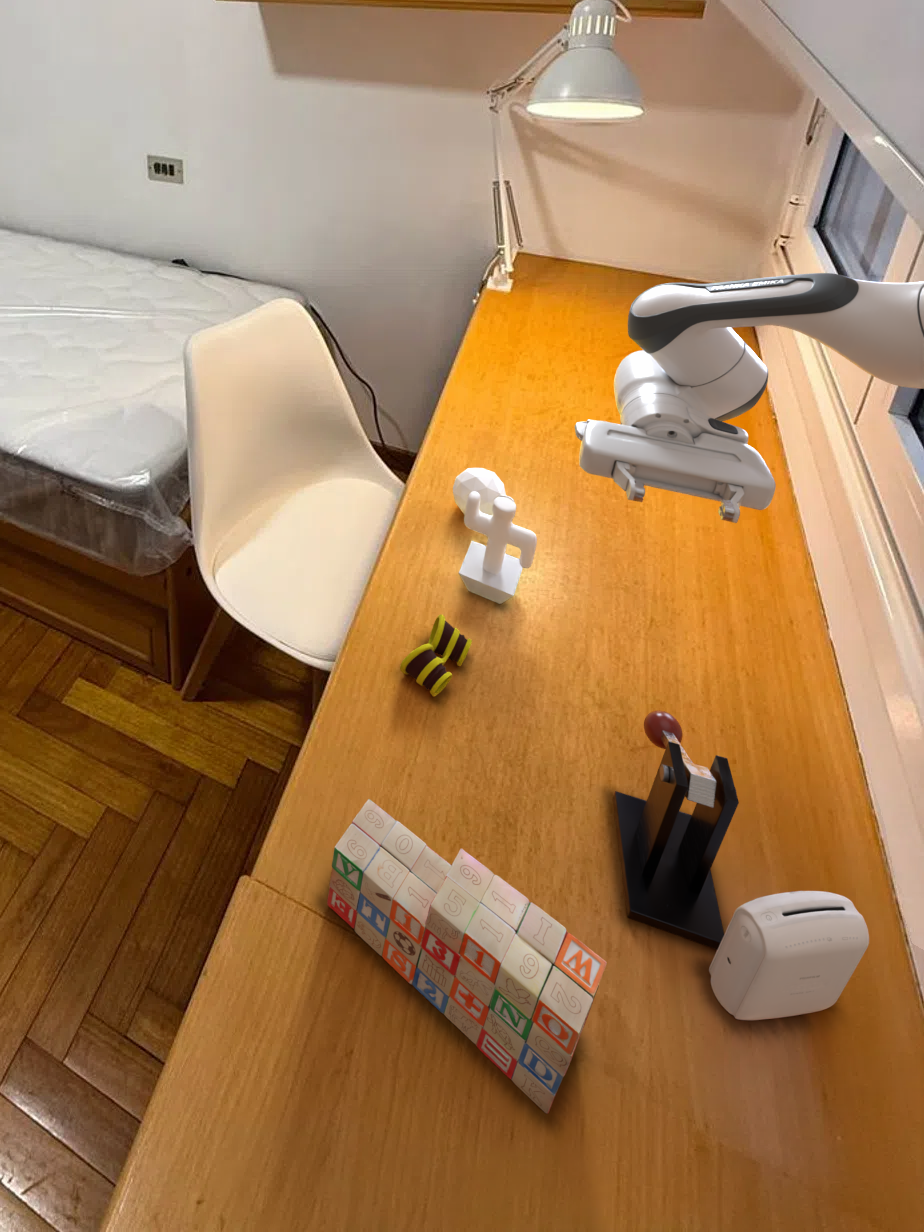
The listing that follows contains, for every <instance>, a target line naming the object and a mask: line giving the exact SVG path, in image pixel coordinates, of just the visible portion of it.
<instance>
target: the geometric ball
mask: <svg viewBox="0 0 924 1232" xmlns="http://www.w3.org/2000/svg"><path fill="white" fill-rule="evenodd" d="M473 491H475V492H478V493H479V494H480V497H481V499H480V505H479V510H480V511H481V512H482V513H485V514H487V515H493V511H492V508H493V503H494V500H495V499H496V498H497V497H499V496H500V495H507V494H506V489H505V484H504V482H503V481H502V480H501V478H500V477H499V476H498V475H497V474H496V472H495V471H492V470H488V469H487V468H483V467H467V468H466V469H464V470H463V471H462V472H460V473H459V474H458V475H457V476H456V477H455V479H454V483H453V486H452V496H453V500H454V503H455V505H456V506H457V507H458V508H459V510H460V511H461V512H462V513H463V516H464V515H465V509H466V504H467V499H468V496H469V494H470V493H471V492H473Z"/></svg>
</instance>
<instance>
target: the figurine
mask: <svg viewBox="0 0 924 1232" xmlns="http://www.w3.org/2000/svg"><path fill="white" fill-rule="evenodd" d="M480 499H481V497H480V494H479V493H478V492H475V491H473V492H471V493H470V494H469V496H468V499H467V504H466V509H465V515H464V514H463V524H464V526H465V527H466V528H467V529H469V530H471V531H474V532H476V533H479V534H481V535H483V536H486V537H487V540H486V545H485V544H482V543H481V542H477V541H475V540H471V541H470V544H469V546H468V549H467V551H466V554H465V556H464V558H463V560H462V563H461V566H460V568H459V571H458V575H459V577H460V579H461V580H462V582H463V584H464V586H465V588H466V590H467V591H468V592H470V593H473V594H475V595H477V596H479V597H482V598H485V599H487V600H490V601H491V602H494V603H496V604H499V605H501V604H503V603H505V602H506V601H508V600H509V599H511V598H512V597H514V596H515V593H516V590H517V587H518V585H519V581H520V579H521V574H522V571H523V569H530V568H531V567H532V565H533V562H534V559H535V554H536V550H537V546H538V537H537V535H536V533H535V532H534V531H532V530H531V529H527V528H525V527H523V526H520V525H516V524H514V523H513V519H514V518H515V517H516V511H517V504H516V502H515V499H514V498H513V497H511V496H509V495H507V494H506V495H500V496H499V497H497V498H496V499H495V500H494V503H493V508H492V511H493V515H487V514H485V513H482V512H481V511H480V510H479V505H480ZM508 545H511V546H512V547H516V548H518V549H519V550H520V554H519V555H520V556H519V558H518V557H516V556H513V555H512V554H511V555H510V554H508V553H506V551H507V546H508Z"/></svg>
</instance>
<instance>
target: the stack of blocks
mask: <svg viewBox="0 0 924 1232" xmlns="http://www.w3.org/2000/svg"><path fill="white" fill-rule="evenodd" d="M326 905H327V906H328V908H330V909H331V910H333V912H334V913H335V914H337V915H338V916H339V917H340V918H341V919H342V920H343V921H344V922H345V923H346V924H348V925H349V927H350V928H351V929H353V930H354V933H356V934H357V936H359V937H360V938H361V940H363V941H364V942H365V943H366V944H367V945H368V946H369V947H370V948H372V950H373V951H374V952H375V953H377V954H378V955H379V956H380V957H382V959H383V960H384V961H385V962H386V963H387V964H388V965H389V966H390V967H392V968H393V970H394V971H396V972H397V973H398V975H400V977H402V978H403V979H404V980H405V981H406V982H407V983H408V984H409V985H412V986H413V987H414V988H415V989H416V991H418V992H419V993H420V994H421V995H422V997H424V998H425V999H426V1000H428V1002H430V1003H431V1005H432V1006H433V1007H434V1008H436V1010H438V1011H439V1012H440V1013H441V1014H443V1015H444V1016H445V1017H446V1019H448V1020H449V1021H450V1022H451V1023H452V1024H453V1025H454V1027H456V1028H457V1029H458V1030H460V1031H461V1033H463V1034H464V1035H465V1037H466V1038H468V1040H470V1041H471V1042H472V1043H473V1044H474V1045H475V1046H476V1047H477V1049H478V1050H479V1051H480V1052H481V1053H482V1054H483V1055H484V1056H485V1057H486V1058H488V1060H489V1061H490V1062H491V1063H492V1064H493V1065H495V1066H496V1068H498V1069H499V1071H501V1072H502V1073H503V1074H504V1075H505V1076H506V1077H507V1078H508V1079H510V1080H511V1081H512V1082H513V1084H514V1085H515V1086H516V1087H517V1088H518V1089H520V1090H521V1092H523V1094H525V1095H526V1096H527V1097H528V1098H529V1099H530V1100H531V1101H532V1102H533V1103H534V1104H535V1105H536V1106H537V1107H538V1108H539V1109H540V1110H542V1111H543V1112H544V1113H545V1114H547V1115H548V1114H550V1113H549V1112H550V1110H551V1108H552V1106H553V1103H554V1100H555V1098H556V1096H557V1092H558V1090H559V1088H560V1086H561V1083H562V1081H563V1079H564V1077H565V1076H566V1074H567V1071H568V1068H569V1066H570V1063H571V1062H572V1059H573V1057H574V1054H575V1051H576V1048H577V1045H578V1043H579V1040H580V1038H581V1035H582V1033H583V1030H584V1027H585V1025H586V1022H587V1020H588V1017H589V1014H590V1012H591V1010H592V1006H593V1004H594V1000H595V998H596V995H597V992H598V990H599V987H600V983H601V980H602V977H603V974H604V972H605V969H606V968H607V961H606V960H604V958H602V957H601V956H600V955H598V954H597V953H596V952H595V951H593V950H592V949H591V948H589V947H588V946H587V945H586V944H585V943H583V942H582V941H580V940H579V938H577V937H575V936H574V935H573V934H572V933H570V932H568V930H567V928H566V927H565V926H564V925H562V924H561V923H560V922H559V921H558V920H556V919H555V918H554V917H552V916H551V915H550V914H548V912H546V911H544V910H543V909H542V908H541V907H539V906H538V905H536V904H535V903H533V902H532V901H530V900H529V898H528V897H527V896H525V895H524V894H523V893H521V892H520V891H519V890H517V889H516V888H515V887H513V886H512V885H511V884H510V883H508V882H507V881H506V880H504V879H503V878H502V877H501V876H499V875H498V874H494V872H493V871H492V870H490V869H489V868H488V867H487V866H486V865H484V864H483V863H481V862H480V861H479V860H477V859H476V858H475V857H474V856H472V855H471V854H470V853H469V852H467V851H466V850H464V849H463V848H460V849H459V851H458V853H457V855H456V857H455V858H454V860H453V861H452V863H450V862H448V861H447V860H446V859H445V858H443V857H442V856H441V855H440V854H438V853H437V851H435V850H433V849H432V848H431V847H430V846H428V845H427V843H426V842H425V841H423V840H422V839H421V838H420V837H419V836H417V835H416V834H415V833H414V832H413V831H411V830H410V829H409V828H407V827H406V826H405V825H404V824H402V823H401V822H400V821H399V820H396V819H394V818H393V816H391V815H390V814H389V813H388V812H386V810H384V809H383V808H381V806H379V805H378V804H377V803H375V802H374V801H372V799H370V798H368V799H367V800H366V802H365V803H364V804H363V805H362V807H361V808H360V810H359V811H358V812H357V814H356V816H355V817H354V818H353V819H352V822H351V823H350V825H349V826H348V827H347V829H346V830H345V831H344V833H343V835H342V836H341V837H340V839H339V840H338V841H337V843H336V844H335V846H334V848H333V855H332V861H331V872H330V879H329V889H328V895H327V901H326Z"/></svg>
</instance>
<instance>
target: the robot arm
mask: <svg viewBox="0 0 924 1232" xmlns="http://www.w3.org/2000/svg"><path fill="white" fill-rule="evenodd" d="M763 326H772V327H773V326H775V327H781V328H786V329H789V330H793V331H795V332H798V333H801V334H803V335H805V336H807V337H808V338H811V339H813V340H814V341H817V342H818V343H820V344H822V345H823V346H825V347H827V348H829V349H831V350H832V351H834V352H835V353H837V354H839V356H842V357H843V358H845V360H847V361H849V362H850V363H851V364H853V365H854V366H856V367H858V368H859V369H860V370H862V371H863V372H865V373H867V374H869V375H870V376H872V377H874V378H876V379H878V380H881V381H883V382H885V383H888V384H890V385H894V386H898V387H903V388H910V389H920V390H921V389H923V390H924V280H922V281H914V282H881V281H871V280H870V281H869V280H862V279H856V278H851V277H849V276H845V275H842V274H838V273H831V272H814V273H813V272H812V273H799V274H788V275H779V276H768V277H758V278H750V279H749V278H748V279H740V280H731V281H721V282H710V283H693V282H692V283H691V282H668V283H661V284H657V285H654V286H653V287H650V288H648V289H646V290H645V291H643V292H642V293H640V294H638V296H637V297H636V298H635V299H634V300H633V302H632V303H631V305H630V308H629V311H628V316H627V336H628V337H629V339H631V340H632V341H633V342H634V343H635V344H636V345H637V346H638V347H639V348H641V349H642V350H636V351H634V352H631V353H629V354H628V355H626V356H625V357H624V358H623V359H622V360H621V361H620V363H619V364H618V366H617V368H616V370H615V375H614V379H613V392H614V400H615V405H616V409H617V412H618V414H619V416H620V418H619V419H620V420H619V421H620V423H617V422H616V423H615V422H611V421H606V420H595V419H586V421H577V422H576V423H575V424H574V433H575V436H576V438H577V439H578V440H579V441H581V442H580V446H579V454H578V465H579V467H580V469H582V470H583V471H584V472H586V473H587V474H590V475H593V476H598V477H603V478H608V479H612V480H613V482H614V483H615V484H616V485H617V486H618V487H619V488H620V489H622V491H624V492H625V494H626V498H627V500H628V501H633V502H637V503H643V501H644V497H645V495H646V489H645V487H646V486H647V487H650V488H655V489H659V490H664V491H668V492H673V493H676V494H677V493H678V494H682V495H687V496H692V497H697V498H702V499H706V500H711V501H715V502H720V506H719V507H718V510H717V513H718V515H719V516H720V517H719V519H720V520H721V521H725V522H730V523H734V524H737V523H738V522H739V519H740V516H741V510H740V507H743V508H748V509H752V510H756V511H763V510H765V509H767V508H769V506H770V504H771V503H772V500H773V499H774V495H775V491H776V489H777V488H776V487H777V486H776V485H777V484H776V481H775V478H774V476H773V473H772V471H771V470H770V468H769V465H767V463H766V461H765V459H764V457H763V456H762V455H761V454H760V453H759V451H758V450H756V449H755V448H754V447H752V446H751V445H749V444H748V443H749V434H748V432H747V431H746V430H745V429H743V428H741V427H739V426H736V425H734V424H731V423H727V422H726V421H729V420H732V419H735V418H738V417H739V416H741V415H743V414H745V413H746V412H748V411H750V410H751V409H753V408H754V407H755V406H756V405H757V404H758V402H759V401H760V399H761V398H762V397H763V395H764V393H765V391H766V388H767V385H768V382H769V369H768V367H767V365H766V364H765V363H763V361H762V360H761V358H759V357H758V355H757V354H756V353H755V352H754V350H753V349H752V348H751V347H750V346H749V345H748V344H747V343H746V341H745V340H744V339H742V337H740V336H739V334H737V333H736V331H735V330H734V329H733V328H747V327H763Z"/></svg>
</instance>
